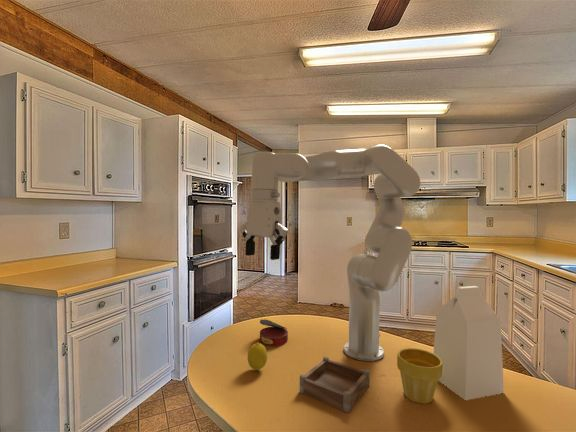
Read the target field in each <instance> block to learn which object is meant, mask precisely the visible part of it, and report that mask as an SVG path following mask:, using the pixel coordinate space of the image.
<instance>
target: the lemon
mask: <svg viewBox="0 0 576 432" xmlns="http://www.w3.org/2000/svg"><path fill="white" fill-rule="evenodd" d="M267 361H268V353H267V348H266V347H265V345H264V344H262V343H261V342H260V343H259V342H256V343H253V344H252V345H251V346H250V347H249V350H248V352H247V363H248V366H249V367H250V368H251V369H253V370H255V371H257V372H258V371H259V370H262V369H263V368H264V367H265V366H266V364H267Z"/></svg>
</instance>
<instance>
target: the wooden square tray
mask: <svg viewBox="0 0 576 432" xmlns="http://www.w3.org/2000/svg"><path fill="white" fill-rule="evenodd" d="M370 374H371V372H370V370H369V369H363V370H361V369H358V368H356V367H353V366H349V365H346V364H344V363H340V362H338V361H334V360H331V359H330V358H329V356H323V358H322V360H321V361H320V362H319V363H317V364H316V365H315V366H314V367H312V368H311V369H310V370H308V372H306V373H305V374H300V375H299V394H302V395H303V394H304V395H305V396H308V397H310V398H313V399H315V400H318V401H320V402H323V403H325V404H326V405H329V406H331V407H335V408H336V409H339V410H341V411H343V412H344V413H348V414H349V413H350V412H351V409H352V408H353V406H355V404H356V403H357V402H358V400H359V399H360V398H361V397H362V395H364V393H365V391H366V390H367V389H369V388H370V384H371V383H370V380H371V377H370V376H371V375H370Z"/></svg>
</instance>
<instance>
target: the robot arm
mask: <svg viewBox="0 0 576 432" xmlns="http://www.w3.org/2000/svg"><path fill="white" fill-rule="evenodd" d="M252 155H253V156H252V161H251V185H250V186H251V188H250V201H249V204H248V209H247V215H246V216H247V218H246V222H245V223H243V224H242V225H241V226H240V229H241V232H242V237H243V239H244V242H245V253H244V254H245V256H255V253H256V241H255V239H256V238H257V237H259V238H269V240H270V241H271V245H270V253H269V254H270V255H269V256H270V257H269V260H271V261H275V260H279V259H280V258H281V257H280V255H281V245H283V242H284V241H285V240H286V237H287V234H288V233H289V229H288V228H287V227H285V225H284V224H283V219H282V208H281V204H280V201H278V198H279V197H280V196H281V194H280V192H279V182H280V183H292V182H293V183H294V182H301V181H303V182H304V181H312V180H315V181H316V180H333V179H335V180H336V179H345V178H346V179H347V178H356V177H358V178H359V177H367V176H374V175H377V176H376V178H375V179H374V182H373V189H374V192H375V195H376V198H377V200H378V209H377V212H376V215H375V216H374V219H373V221H372V222H371V225H370V227H369V228H368V231H367V233H366V236H365V239H364V246H365V247H366V249H367V250H368V251H369V252H372V253H373V254H376V255H377V256H374V255H370V254H366V253H359V254H356V255H354V256H352V257H351V258H350V259H349V261H348V263H347V267H346V274H347V282H348V290H349V291H348V292H349V300H348V301H349V304H348V305H349V306H348V341H347V342H346V343H345V344H343V351H344V353H345V354H346V355H347V356H348V357H350V358H351V359H354V360H359V361H362V362H363V361H364V362H373V361H374V362H375V361H379V360H381V359H382V358H383V357H384V356H385V350H384V348H383V347H382V346H380V337H381V334H380V314H381V313H380V310H381V309H380V306H381V300H380V299H381V297H380V292H387V291H390V290H391V289H393V287H394V286H395V285H396V283H397V282H398V280H399V278H400V276H401V274H402V272H403V270H404V268H405V266H406V264H407V261H408V259H409V257H410V254H411V252H412V248H413V239H412V236H411V234H410V232H409V231H408V230H407V229H406V228H404V227H402V224H403V222H404V220H405V219H404V218H405V214H406V213H405V212H406V211H405V206H404V203H403V201H402V198H406V197H407V198H408V197H411V196H414V195H415V194H417V192H419V190H420V189H421V188H420V187H421V178H420V176H419V173H418V172H417V171H416V170H415V168H413V167H412V166H411V164H410V163H408V162H407V161H406V160H405V159H404V158H403V157H402V156H401V155H400V154H399V153H398V152H396V151H395V150H394V149H392V148H391V147H389V146H388V145H385V144H377V145H374V146H371V147H368V148H357V149H354V148H353V149H340V150H339V149H338V150H335V149H334V150H328V151H326V152H325V151H324V152H322V153H319V154H315V155H309V156H303V155H302V154H300V153H296V152H295V153H294V152H290V153H289V152H288V153H276V152H273V151H257V152H255V153H254V154H252Z"/></svg>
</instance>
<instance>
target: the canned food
mask: <svg viewBox="0 0 576 432" xmlns="http://www.w3.org/2000/svg"><path fill="white" fill-rule="evenodd" d="M259 324H261V325H263V326H267V327H264V328H262V329H261V330H259V342H260V344H262V345H263V346H268V347H279V346H282V345H283V346H284V345H285V344H287V343H288V341H289V340H288V339H289V338H288V337H289V336H288V335H289V331H288V328H287V327H285V326H283V325H281V324H278V323H276V322H273V321H272V320H269V319H265V318H264V319H262V318H261V319H260V320H259Z"/></svg>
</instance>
